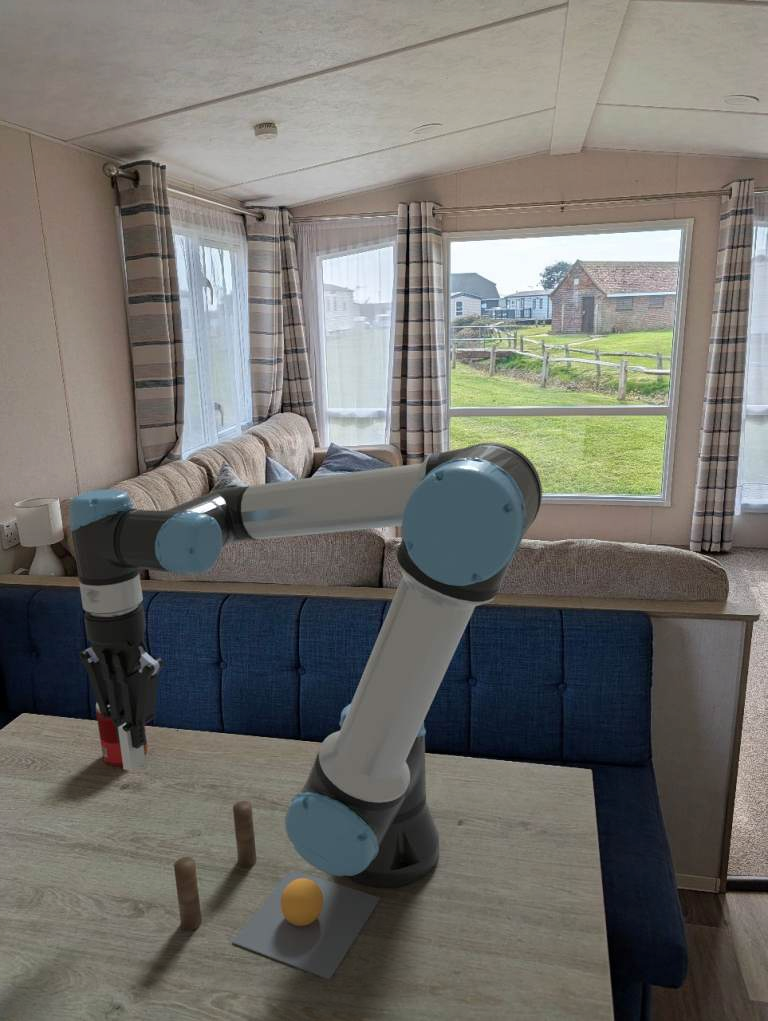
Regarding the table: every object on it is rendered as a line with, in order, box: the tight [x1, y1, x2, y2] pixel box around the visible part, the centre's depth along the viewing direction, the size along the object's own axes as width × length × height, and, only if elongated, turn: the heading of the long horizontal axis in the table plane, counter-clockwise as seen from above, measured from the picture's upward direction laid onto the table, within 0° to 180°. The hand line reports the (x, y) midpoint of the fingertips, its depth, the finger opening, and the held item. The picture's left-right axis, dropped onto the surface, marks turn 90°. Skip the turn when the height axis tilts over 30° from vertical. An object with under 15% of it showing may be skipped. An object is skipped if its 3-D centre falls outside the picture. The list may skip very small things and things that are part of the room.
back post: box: [232, 800, 257, 868], centre depth 108 cm, size 3×3×9 cm
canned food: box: [95, 702, 148, 767], centre depth 136 cm, size 8×8×11 cm
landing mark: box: [231, 869, 381, 981], centre depth 98 cm, size 14×14×1 cm
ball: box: [281, 878, 323, 926], centre depth 98 cm, size 6×6×6 cm
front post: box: [173, 856, 203, 932], centre depth 97 cm, size 3×3×9 cm
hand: (134, 765), depth 105 cm, fingers closed
